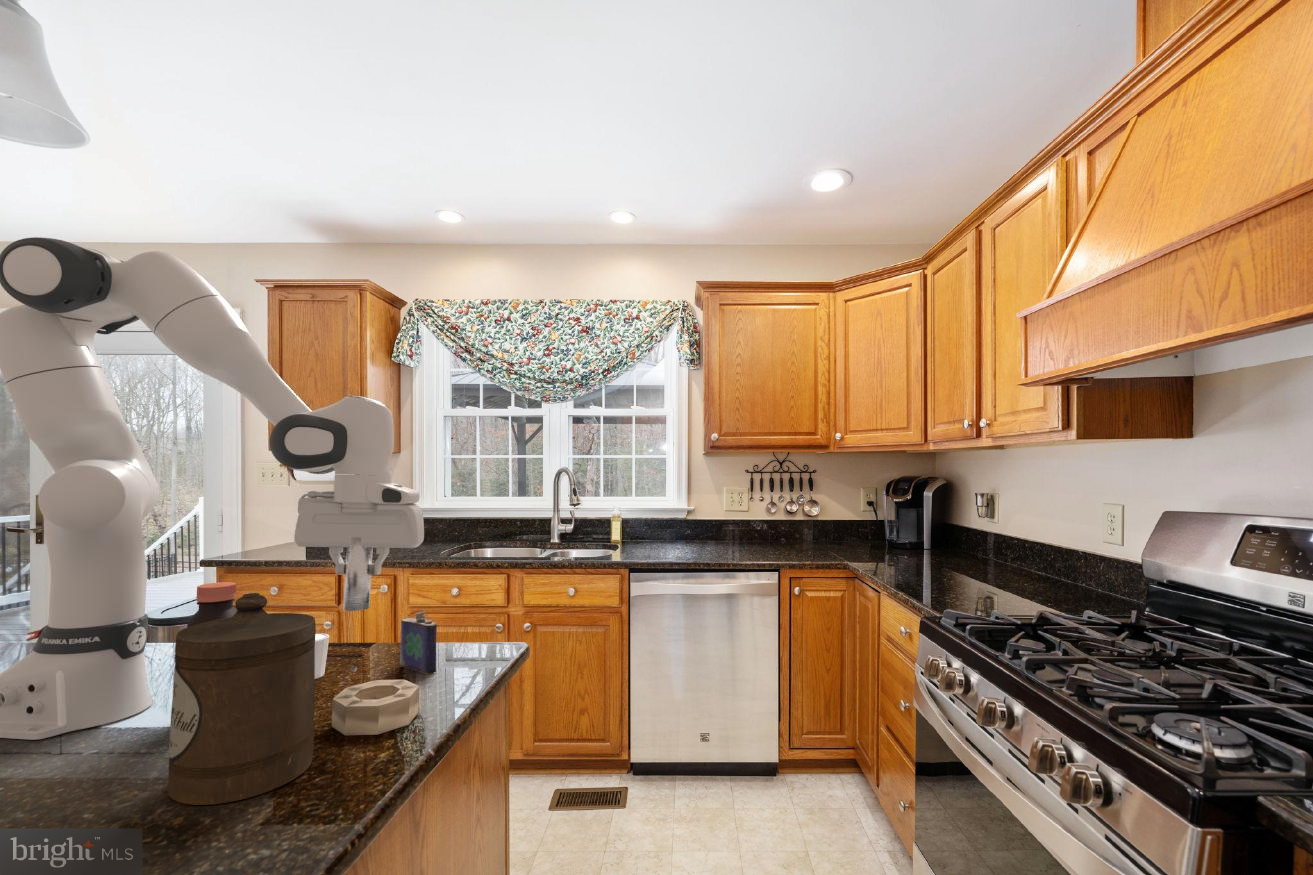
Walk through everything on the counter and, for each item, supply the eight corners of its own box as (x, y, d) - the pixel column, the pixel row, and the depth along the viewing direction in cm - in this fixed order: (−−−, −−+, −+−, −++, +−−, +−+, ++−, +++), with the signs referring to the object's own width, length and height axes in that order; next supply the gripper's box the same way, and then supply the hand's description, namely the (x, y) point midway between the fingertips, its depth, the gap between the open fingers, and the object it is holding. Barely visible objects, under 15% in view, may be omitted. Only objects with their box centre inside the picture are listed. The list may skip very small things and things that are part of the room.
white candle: (338, 610, 99) (344, 519, 100) (349, 605, 103) (354, 517, 104) (364, 610, 100) (369, 519, 101) (373, 605, 104) (378, 518, 105)
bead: (321, 736, 86) (322, 707, 86) (353, 706, 96) (354, 680, 97) (401, 733, 86) (402, 705, 87) (424, 704, 97) (425, 679, 98)
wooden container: (188, 759, 78) (197, 588, 80) (318, 739, 84) (324, 580, 86) (146, 819, 65) (158, 611, 66) (304, 790, 71) (312, 600, 72)
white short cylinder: (308, 683, 107) (310, 643, 107) (275, 681, 108) (277, 641, 108) (336, 671, 113) (338, 633, 114) (305, 668, 115) (306, 631, 115)
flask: (396, 666, 116) (398, 610, 117) (409, 662, 119) (411, 607, 120) (427, 675, 112) (429, 616, 112) (441, 671, 114) (442, 613, 115)
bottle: (219, 727, 88) (226, 588, 89) (170, 728, 88) (177, 589, 89) (247, 709, 95) (253, 580, 96) (202, 710, 95) (208, 580, 96)
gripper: (289, 491, 99) (284, 576, 98) (417, 493, 101) (413, 577, 100) (308, 490, 105) (303, 570, 104) (428, 492, 107) (425, 571, 106)
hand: (358, 574), depth 102 cm, fingers closed on white candle, 4 cm apart
